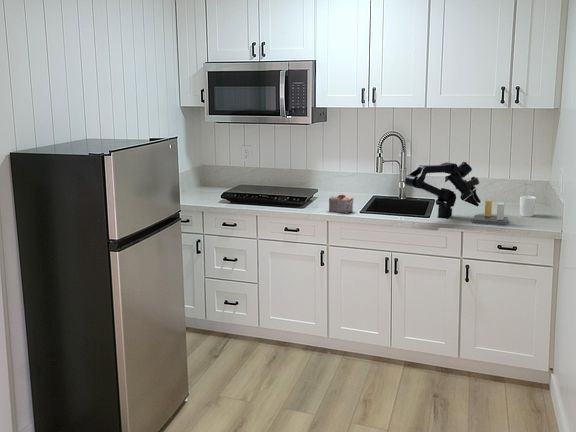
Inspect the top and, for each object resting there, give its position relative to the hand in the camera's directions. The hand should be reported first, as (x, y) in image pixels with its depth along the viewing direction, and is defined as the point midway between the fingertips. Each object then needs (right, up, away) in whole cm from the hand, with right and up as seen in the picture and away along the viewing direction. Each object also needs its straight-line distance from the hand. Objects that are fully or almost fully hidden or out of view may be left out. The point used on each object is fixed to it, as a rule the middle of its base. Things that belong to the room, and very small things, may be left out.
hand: (479, 204), depth 309 cm
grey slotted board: (+3, -9, -9) cm, 13 cm away
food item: (-71, -4, +21) cm, 74 cm away
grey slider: (+6, -8, -13) cm, 17 cm away
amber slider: (+3, -6, -5) cm, 9 cm away
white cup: (+27, -6, +4) cm, 27 cm away
